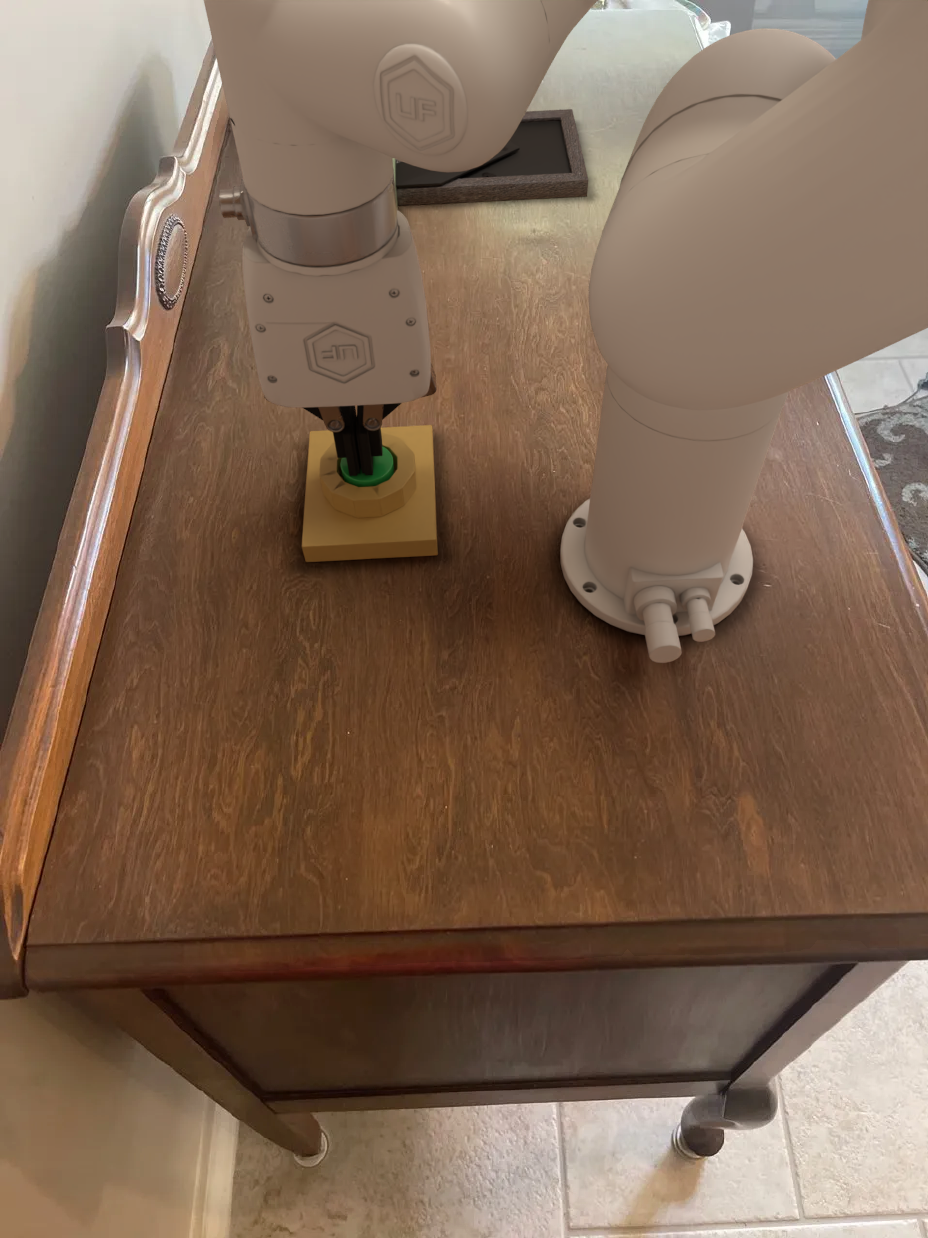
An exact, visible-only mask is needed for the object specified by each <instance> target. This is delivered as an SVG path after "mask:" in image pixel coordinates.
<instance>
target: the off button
mask: <svg viewBox="0 0 928 1238" xmlns="http://www.w3.org/2000/svg"><path fill="white" fill-rule="evenodd" d="M382 448H383V452H382V456H374V457H373V475H365V473H362V469H361V462H360V474H357V476H349V471H348V465H347V459H346V458H342V459H341V471H342V476H343V481H344V482H346V483H349V484H351V485H354V486H357V487H372V486H377V485H379V484H381V483H383V482H385V481H388V480H389V479H390V478H391V477H392V475H393V474H394V473H395V471H394V463H393V457H392V455H391V453H390V452H389V451H388V450H387V449H386V448H384V447H383V446H382Z"/></svg>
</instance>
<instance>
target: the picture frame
mask: <svg viewBox="0 0 928 1238" xmlns="http://www.w3.org/2000/svg"><path fill="white" fill-rule="evenodd" d="M588 189H589V176H588V171H587V167H586V162H585V158H584V154H583V150H582V146H581V142H580V137H579V133H578V129H577V124H576V119H575V116H574V111H573V108H570V109H569V108H568V109H567V108H566V109H565V108H564V109H549V110H548V109H547V110H546V109H545V110H527V111H526V113H525V114H524V116H523V118H522V120H521V122H520V124H519V125H518V127H517V129H516V131H515V132H514V134H513V136H512V137H511V139H510V140H509V141H508V142H507V144H506V145H505V146H504V148H503V149H502V150H501V151H500V152H499V153H498V154H496V155H495V156H494V157H493V158H491V159H490V160H489V161H487V162H486V163H484V164H483V165H481V166H478V167H476V168H473V169H470V170H467V171H461V172H439V171H432V170H427V169H424V168H420V167H417V166H413V165H410V164H408V163H405V162H402V161H399V160H397V159H396V191H397V202H398V206H414V205H415V206H417V205H418V206H419V205H434V204H438V205H439V204H454V203H455V204H456V203H476V202H494V201H514V200H516V201H517V200H534V199H535V200H537V199H556V198H574V197H577V198H578V197H588Z"/></svg>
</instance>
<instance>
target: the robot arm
mask: <svg viewBox="0 0 928 1238" xmlns="http://www.w3.org/2000/svg"><path fill="white" fill-rule="evenodd" d="M598 1H599V0H203V5H204V8H205V9H204V10H205V13H206V17H207V22H208V26H209V27H208V28H209V31H210V37H211V40H212V44H213V49H214V54H215V58H216V63H217V67H218V72H219V76H220V80H221V85H222V89H223V90H222V91H223V94H224V100H225V103H226V108H227V113H228V117H229V121H230V126H231V130H232V131H231V132H232V135H233V139H234V145H235V147H236V148H235V149H236V153H237V157H238V163H239V168H240V171H241V175H242V179H240V185H237V186H236V185H235V186H233V188H232V189H230V188H229V189H219V192H218V201H219V209H220V212H221V216H222V218H223V219H231V218H232V219H233V218H236V219H237V220H238V221H244V222H245V224H246V226H247V227H248V229H247V231H246V234H245V238H244V240H243V243H242V259H241V260H242V261H241V262H242V280H243V290H244V299H245V300H244V301H245V308H246V314H247V321H248V328H249V333H250V339H251V346H252V351H253V356H254V362H255V363H254V364H255V368H256V373H257V377H258V381H259V386H260V389H261V392H262V394H263V397H264V399H265V400H266V401H268V402H270V403H271V404H274V405H275V406H279V407H284V408H292V409H293V408H294V409H298V408H299V409H300V408H301V409H303V410H305V411H307V412H308V413H310V414H312V415H313V416H315V417H316V418H318V419H319V420H321V421H323V424H324V427H326V430H329V431H331V432H333V436H334V441H335V447H336V452H337V457H338V458H346V459H347V465H348V471H349V476H357V474H360V462H361V469H362V473H365V475H373V457H374V456H382V452H383V448H382V434H381V428H382V425H383V420H384V419H386V418H387V417H388V416H389V415H390V414H391V413H392V412H394V411H395V410H396V409H397V408H399V407H400V406H401V405H402V404H405V403H411V402H414V401H417V400H420V399H421V398H425V397H430V396H433V395H435V394H436V392H437V373H436V372H435V369H434V367H433V363H432V353H431V338H430V326H429V325H430V324H429V317H428V306H427V299H426V292H425V285H424V279H423V272H422V268H421V263H420V258H419V254H418V250H417V246H416V242H415V239H414V235H413V232H412V228H411V225H410V223H409V221H408V219H407V217H406V216H405V215H404V213H402V212H401V211H400V210H399V209H398V210H397V206H396V193H395V181H394V169H393V159H392V158H395V159H397V160H399V161H402V162H405V163H408V164H410V165H413V166H417V167H420V168H424V169H427V170H432V171H439V172H461V171H467V170H470V169H473V168H476V167H478V166H481V165H483V164H484V163H486V162H487V161H489V160H490V159H491V158H493V157H494V156H495V155H496V154H498V153H499V152H500V151H501V150H502V149H503V148H504V146H505V145H506V144H507V142H508V141H509V140H510V139H511V137H512V136H513V134H514V132H515V131H516V129H517V127H518V125H519V124H520V122H521V120H522V118H523V116H524V114H525V113H526V111H528V109H529V107H530V106H531V103H532V102H533V100H534V98H535V96H536V94H537V92H538V91H539V89H540V86H541V84H542V82H543V81H544V78H545V76H546V75H547V73H548V71H549V69H550V67H551V65H552V64H553V62H554V60H555V58H556V57H557V55H558V53H559V52H560V50H561V49H562V47H563V45H564V43H565V41H566V39H567V38H568V37H569V35H570V34H571V32H572V31H573V30H574V28H575V27H576V26H577V25H578V24H579V23H580V22H581V20H582V19H583V18H584V17H585V16H586V15H587V14H588V12H589V11H590V10H591V9H592V8H593V7H594V5H595V4H596V3H597V2H598ZM588 315H589V320H590V321H589V322H590V327H591V330H592V334H593V337H594V340H595V343H596V345H597V348H598V351H599V352H600V354H601V356H602V358H603V360H604V362H605V363H606V364H607V367H606V371H605V378H604V379H605V380H604V386H603V395H602V401H601V411H600V419H599V424H598V425H599V426H598V433H597V440H596V441H597V442H596V449H595V457H594V465H593V472H592V479H591V481H592V482H591V488H590V495H589V498H588V499H586V500H585V501H583V503H581V504H580V505H579V506H578V507H577V508H576V509H575V510H574V511H573V513H572V514H571V515H570V517H569V519H568V520H567V522H566V525H565V527H564V529H563V533H562V535H561V541H560V549H559V552H560V553H559V554H560V560H559V561H560V567H561V570H562V575H563V578H564V581H565V582H566V584H567V586H568V588H569V590H570V592H571V593H572V594H573V596H574V597H575V598H576V599H577V601H578V602H579V603H580V604H581V605H582V606H583V607H584V608H586V610H588V611H589V612H590V613H591V614H592V615H594V616H595V617H597V618H598V619H600V620H602V621H604V623H607V624H609V625H611V626H613V627H615V628H618V629H621V630H623V631H625V632H628V633H633V634H636V635H637V634H638V635H642V636H644V637H645V642H646V647H647V652H648V658H649V659H650V660H651V661H652V662H654V663H656V664H667V663H670V662H674V661H676V660H677V659H679V658H680V657H681V655H682V652H683V651H682V647H681V642H680V638H679V637H680V636H688V635H690V634H691V637H692V640H694V641H695V642H698V643H699V642H702V643H704V642H708V641H710V640H712V639H714V638H715V636H716V630H715V625H717V624H719V623H720V622H721V621H723V620H724V619H725V618H727V617H728V616H729V615H731V614H732V613H733V612H734V610H735V609H736V608H737V607H738V606H739V605H740V603H741V602H742V600H743V598H744V596H745V595H746V593H747V591H748V588H749V585H750V581H751V579H752V576H753V568H754V567H753V566H754V556H753V550H752V545H751V542H750V541H749V538H748V536H747V534H746V532H745V530H744V529H743V527H744V524H745V522H746V518H747V515H748V512H749V509H750V506H751V503H752V500H753V497H754V494H755V492H756V488H757V486H758V482H759V480H760V477H761V473H762V471H763V468H764V464H765V462H766V458H767V457H768V453H769V450H770V447H771V445H772V441H773V438H774V435H775V432H776V430H777V426H778V425H779V421H780V418H781V415H782V413H783V409H784V406H785V405H786V402H787V399H788V396H789V393H790V392H791V391H794V390H796V389H798V388H800V387H803V386H805V385H808V384H810V383H812V382H814V381H816V380H819V379H821V378H823V377H825V376H827V375H830V374H831V373H834V372H836V371H839V370H841V369H842V368H844V367H847V366H849V365H851V364H853V363H855V362H858V361H860V360H863V359H864V358H866V357H869V356H871V355H873V354H875V353H877V352H879V351H881V350H884V349H886V348H888V347H890V346H893V345H894V344H897V343H899V342H901V341H903V340H905V339H907V338H910V337H911V336H914V335H917V334H918V333H920V332H922V331H924V330H926V329H928V0H868V1H867V4H866V9H865V14H864V19H863V24H862V31H861V36H860V40H859V41H858V42H856V43H855V44H854V45H853V46H851V47H850V48H849V49H847V50H846V51H845V52H843V54H841V55H840V56H839V57H838V58H836V57H835V56H834V55H833V54H832V53H831V52H830V51H829V50H828V49H827V48H825V47H824V46H823V45H821V44H819V43H818V42H817V41H815V40H813V39H811V38H810V37H808V36H806V35H803V34H800V33H797V32H795V31H791V30H786V29H783V28H755V29H747V30H744V31H743V30H742V31H739V32H736V33H732V34H730V35H727V36H725V37H723V38H720V39H718V40H717V41H714V42H712V43H711V44H708V45H707V46H706V47H704V48H703V49H701V50H700V51H699V52H697V53H696V54H694V55H693V56H692V57H691V58H690V59H688V61H687V62H685V63H684V64H683V65H682V66H681V67H680V68H679V69H678V70H677V71H676V73H675V74H674V75H672V77H671V78H670V79H669V81H668V82H667V83H666V85H665V86H664V87H663V88H662V90H661V91H660V93H659V94H658V96H657V97H656V99H655V101H654V103H653V104H652V107H651V108H650V110H649V112H648V114H647V116H646V117H645V121H644V122H643V124H642V127H641V128H640V132H639V134H638V136H637V139H636V141H635V143H634V147H633V149H632V152H631V154H630V157H629V159H628V162H627V165H626V167H625V170H624V173H623V175H622V178H621V180H620V183H619V187H618V190H617V192H616V195H615V198H614V200H613V203H612V206H611V208H610V211H609V213H608V215H607V218H606V221H605V223H604V225H603V229H602V231H601V235H600V238H599V241H598V244H597V246H596V249H595V253H594V258H593V262H592V265H591V269H590V275H589V283H588Z"/></svg>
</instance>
